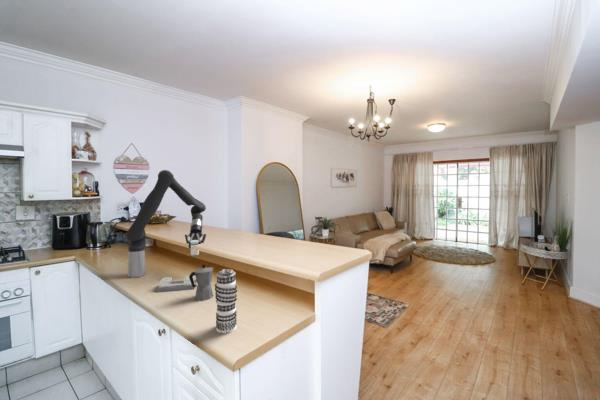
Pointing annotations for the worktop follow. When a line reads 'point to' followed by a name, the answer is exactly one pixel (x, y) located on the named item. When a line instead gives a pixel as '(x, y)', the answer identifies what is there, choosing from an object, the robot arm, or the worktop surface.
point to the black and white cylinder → (226, 301)
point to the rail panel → (175, 284)
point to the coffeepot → (203, 282)
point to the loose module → (194, 251)
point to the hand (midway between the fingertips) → (194, 248)
